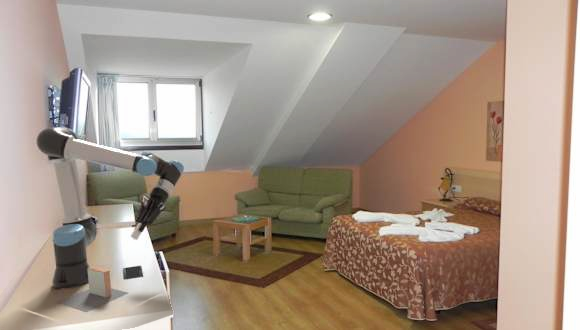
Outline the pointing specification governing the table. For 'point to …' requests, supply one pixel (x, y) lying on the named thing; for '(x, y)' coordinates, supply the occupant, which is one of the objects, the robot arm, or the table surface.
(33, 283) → the table surface
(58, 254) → the robot arm
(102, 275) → the tile
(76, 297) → the mat
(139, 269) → the phone
